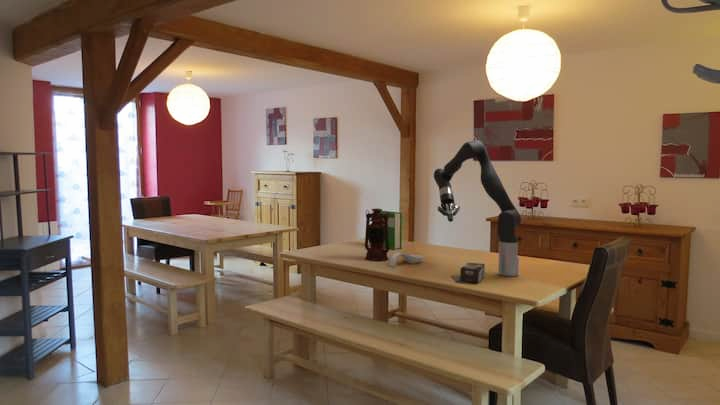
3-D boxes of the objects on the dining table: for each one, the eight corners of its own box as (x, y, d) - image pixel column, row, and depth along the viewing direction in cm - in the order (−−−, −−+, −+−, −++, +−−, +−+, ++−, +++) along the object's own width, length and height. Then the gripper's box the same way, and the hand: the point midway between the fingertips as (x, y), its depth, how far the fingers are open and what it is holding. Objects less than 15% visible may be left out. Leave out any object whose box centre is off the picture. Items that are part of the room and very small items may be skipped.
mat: (474, 276, 254) (474, 275, 254) (480, 281, 242) (480, 281, 242) (451, 276, 254) (451, 275, 254) (456, 282, 242) (456, 281, 242)
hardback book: (401, 248, 330) (401, 212, 327) (394, 250, 325) (394, 213, 322) (382, 245, 342) (382, 210, 340) (374, 246, 337) (374, 211, 335)
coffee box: (485, 263, 253) (479, 269, 238) (484, 275, 253) (478, 283, 238) (467, 261, 256) (460, 267, 241) (466, 273, 257) (459, 280, 242)
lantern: (358, 259, 296) (358, 209, 293) (371, 255, 307) (371, 207, 304) (382, 262, 286) (382, 210, 283) (395, 258, 297) (395, 208, 294)
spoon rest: (412, 259, 296) (412, 247, 295) (427, 262, 287) (428, 250, 287) (384, 265, 280) (384, 252, 279) (399, 268, 271) (399, 255, 271)
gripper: (436, 192, 280) (439, 216, 269) (459, 192, 281) (464, 216, 269) (434, 200, 286) (437, 225, 275) (456, 200, 286) (461, 224, 275)
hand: (450, 220), depth 272 cm, fingers closed
